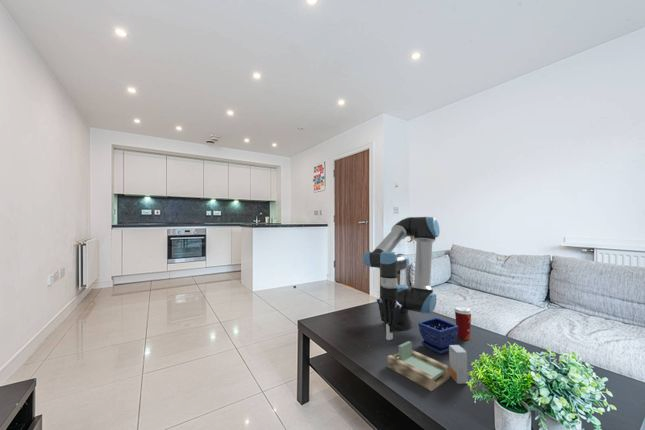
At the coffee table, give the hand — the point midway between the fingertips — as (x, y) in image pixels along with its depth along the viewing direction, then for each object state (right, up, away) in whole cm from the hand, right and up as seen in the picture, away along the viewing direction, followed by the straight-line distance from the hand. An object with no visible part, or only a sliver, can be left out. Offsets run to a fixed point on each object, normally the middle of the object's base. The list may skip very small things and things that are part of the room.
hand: (389, 338), depth 119 cm
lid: (+9, -6, -11) cm, 16 cm away
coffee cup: (+44, -9, +20) cm, 49 cm away
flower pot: (+26, -9, +9) cm, 29 cm away
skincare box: (+23, -9, -16) cm, 29 cm away
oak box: (+9, -9, -11) cm, 17 cm away
